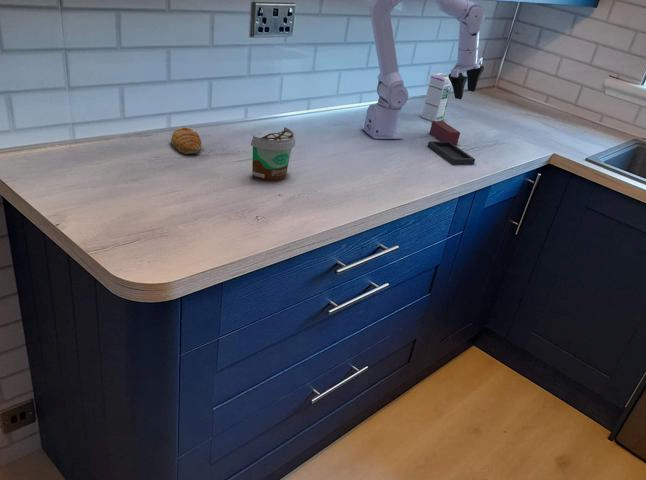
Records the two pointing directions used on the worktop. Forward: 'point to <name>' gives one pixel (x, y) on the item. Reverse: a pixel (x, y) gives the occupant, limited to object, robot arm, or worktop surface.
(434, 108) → the syrup box
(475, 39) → the robot arm
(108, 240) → the worktop surface
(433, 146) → the cradle
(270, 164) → the food container
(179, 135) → the pastry
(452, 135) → the dark red block
